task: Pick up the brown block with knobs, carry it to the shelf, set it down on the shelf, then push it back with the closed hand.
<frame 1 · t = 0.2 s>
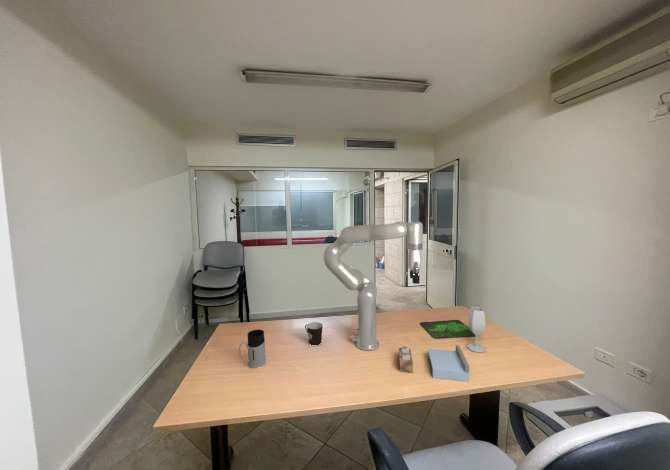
hand: (414, 280, 132), 36 cm above the table, tool pointing down, fingers open, 9 cm apart
brown block with knobs: (405, 365, 122), on the table
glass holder: (252, 366, 123), on the table
wineglass: (476, 348, 135), on the table
coffee mug: (314, 342, 145), on the table
mouse mat: (447, 329, 157), on the table
shelf: (446, 368, 119), on the table
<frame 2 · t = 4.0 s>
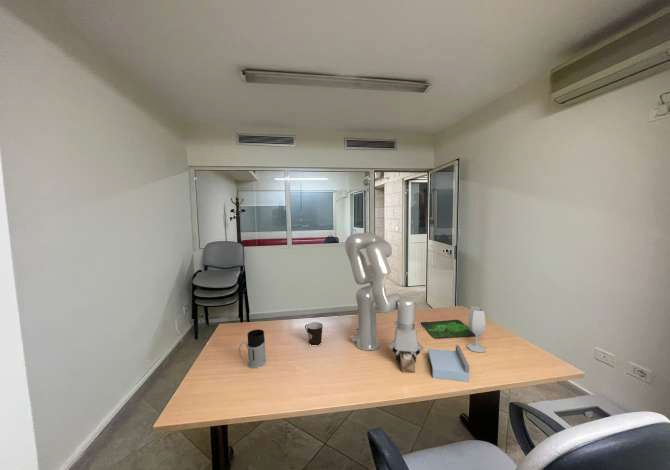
hand: (405, 362, 122), 1 cm above the table, tool pointing down, fingers closed on brown block with knobs, 6 cm apart
brown block with knobs: (405, 364, 122), on the table, touching gripper
everything else where it was.
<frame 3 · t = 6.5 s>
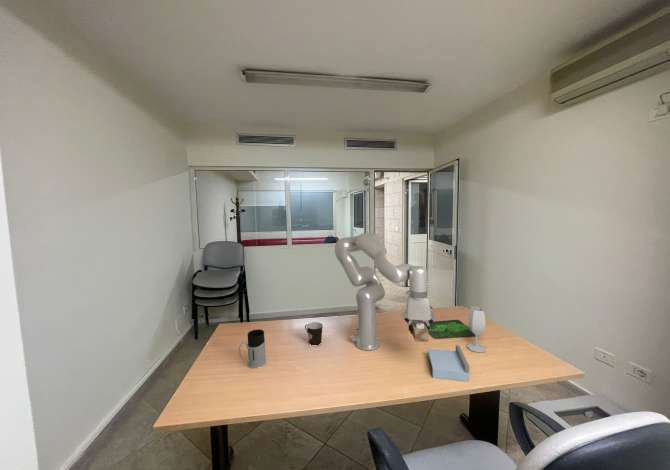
hand: (418, 332, 119), 16 cm above the table, tool pointing down, fingers closed on brown block with knobs, 6 cm apart
brown block with knobs: (418, 335, 119), point 15 cm above the table, touching gripper
everything else where it was.
when the fingers open (6 cm above the table, at t = 9.2 s): brown block with knobs drops 1 cm, resting on shelf.
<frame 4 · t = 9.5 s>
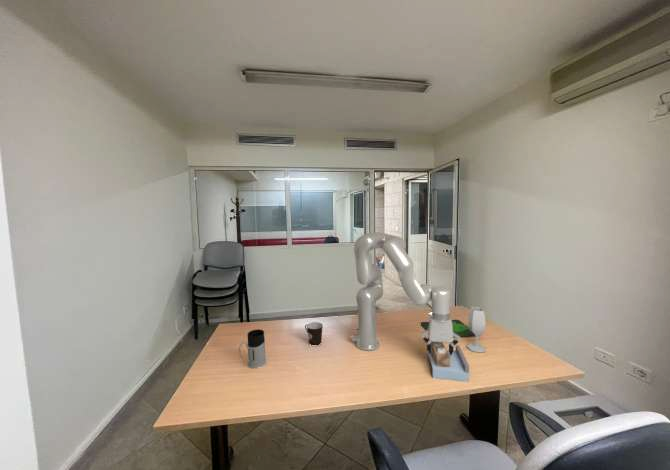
hand: (439, 352, 119), 7 cm above the table, tool pointing down, fingers open, 8 cm apart
brown block with knobs: (439, 359, 119), point 4 cm above the table, touching shelf
everything else where it was.
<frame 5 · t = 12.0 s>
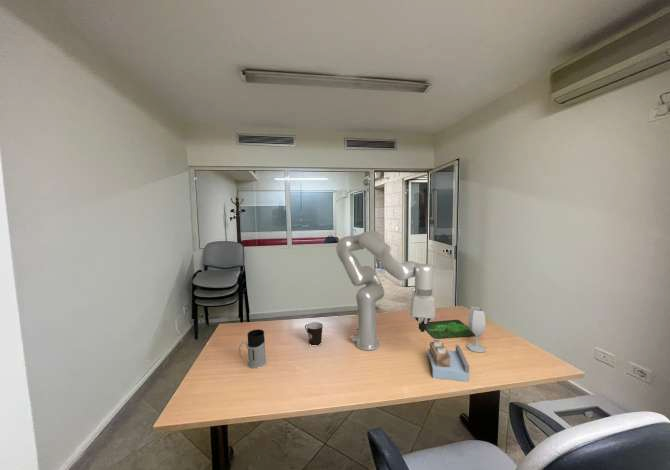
hand: (422, 330, 120), 17 cm above the table, tool pointing down, fingers closed
nothing on the table moved.
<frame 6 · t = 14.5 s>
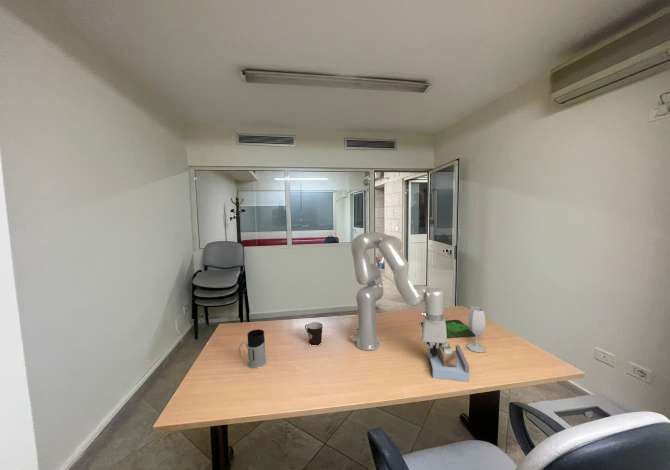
hand: (433, 355, 119), 6 cm above the table, tool pointing down, fingers closed
brown block with knobs: (445, 359, 119), point 4 cm above the table, touching gripper, shelf
everything else where it was.
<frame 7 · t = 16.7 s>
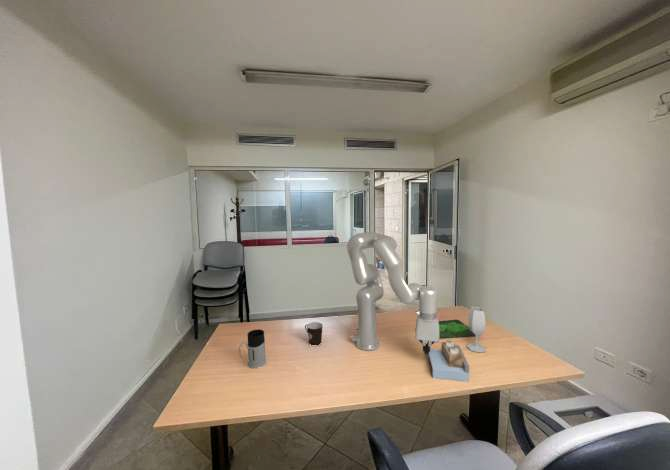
hand: (426, 353, 121), 6 cm above the table, tool pointing down, fingers closed
brown block with knobs: (451, 359, 118), point 4 cm above the table, touching shelf
everything else where it was.
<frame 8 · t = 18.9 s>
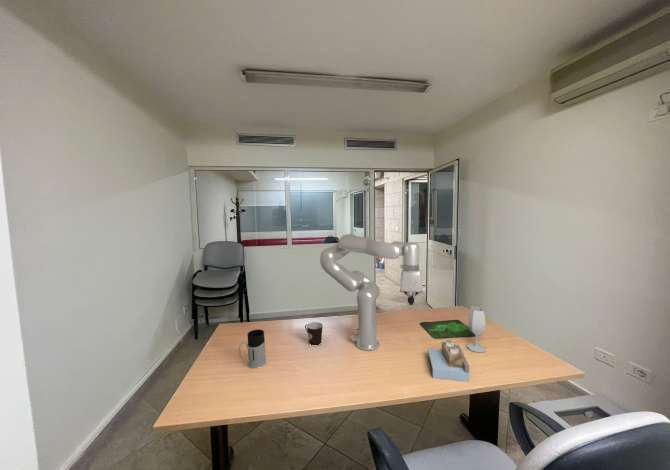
hand: (410, 304, 130), 25 cm above the table, tool pointing down, fingers closed
nothing on the table moved.
at the end: brown block with knobs 0.6 cm from the target spot on the shelf, point 4.0 cm above the shelf's base; brown block with knobs tilted 0°; the gripper is holding nothing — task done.
